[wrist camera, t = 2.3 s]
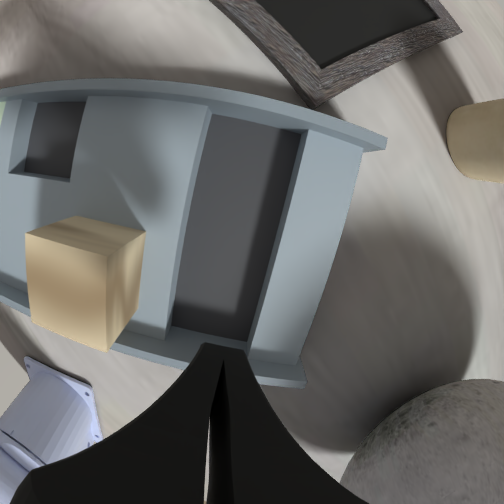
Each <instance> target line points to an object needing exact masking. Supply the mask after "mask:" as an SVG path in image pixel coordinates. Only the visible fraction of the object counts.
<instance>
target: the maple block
mask: <svg viewBox="0 0 504 504" xmlns="http://www.w3.org/2000/svg"><path fill="white" fill-rule="evenodd" d="M145 237H146V231H142V230H138V229H133V228H129V227H124V226H120V225H116V224H111V223H107V222H102V221H98V220H94V219H89V218H85V217H80V216H73V217H70V218H67V219H64V220H61V221H58V222H55V223H52V224H49V225H46V226H43V227H40V228H37V229H34V230H32V231H29V232H26V233H25V256H26V275H27V287H28V297H29V305H30V312H31V319H32V322H33V323H35V324H37V325H39V326H41V327H43V328H46V329H48V330H50V331H52V332H55V333H57V334H59V335H62V336H64V337H66V338H69V339H71V340H74V341H76V342H79V343H81V344H84V345H87V346H89V347H92V348H95V349H97V350H100V351H103V352H106V353H107V352H108V351H109V349H110V348H111V346H112V345H113V343H114V342H115V340H116V339H117V337H118V336H119V335H120V333H121V332H122V330H123V329H124V327H125V326H126V325H127V323H128V322H129V320H130V319H131V318H132V316H133V315H134V313H135V312H136V311H137V309H138V305H139V292H140V280H141V270H142V261H143V252H144V245H145Z"/></svg>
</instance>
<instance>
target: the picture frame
mask: <svg viewBox="0 0 504 504" xmlns="http://www.w3.org/2000/svg"><path fill="white" fill-rule="evenodd" d="M209 1H210V2H212V3H213V4H214V5H215V6H216V7H217V8H218V9H219V10H221V11H222V12H223V13H224V14H225V15H226V16H227V17H228V18H229V19H230V20H231V21H232V22H233V23H235V24H236V25H237V26H238V27H239V28H240V29H241V30H242V31H243V32H244V33H245V34H246V35H247V36H248V37H249V38H250V39H251V40H252V41H253V42H254V44H255V45H256V46H257V47H258V48H259V49H260V50H261V51H262V52H263V53H264V54H265V55H266V56H267V57H268V59H269V60H270V61H271V62H272V63H273V64H274V65H275V66H276V68H277V69H278V70H279V71H280V72H281V73H282V74H283V76H284V77H285V78H286V79H287V80H288V82H289V83H290V84H291V85H292V86H293V88H294V89H295V90H296V91H297V93H298V94H299V95H300V96H301V98H302V99H303V100H304V101H305V103H306V104H307V105H308V107H309V108H310V109H311V110H313V109H315V108H317V107H318V106H320V105H322V104H323V103H325V102H326V101H328V100H330V99H331V98H333V97H335V96H336V95H338V94H340V93H341V92H343V91H345V90H347V89H348V88H350V87H352V86H354V85H355V84H357V83H359V82H361V81H362V80H364V79H366V78H368V77H370V76H372V75H373V74H375V73H377V72H379V71H381V70H383V69H385V68H387V67H389V66H390V65H392V64H394V63H396V62H398V61H400V60H402V59H404V58H406V57H409V56H411V55H413V54H415V53H417V52H419V51H421V50H423V49H426V48H428V47H430V46H432V45H434V44H437V43H439V42H441V41H444V40H446V39H448V38H451V37H453V36H456V35H458V34H460V33H462V32H463V31H462V30H461V29H460V27H459V26H458V25H457V23H456V22H455V20H454V19H453V18H452V17H451V15H450V14H449V13H448V11H447V10H446V9H445V8H444V6H443V5H442V4H441V3H440V2H439V0H209Z"/></svg>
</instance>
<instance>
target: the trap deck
mask: <svg viewBox="0 0 504 504" xmlns="http://www.w3.org/2000/svg"><path fill="white" fill-rule="evenodd" d="M386 144H387V138H386V137H384V136H382V135H380V134H377V133H375V132H372V131H370V130H367V129H365V128H362V127H360V126H357V125H355V124H352V123H349V122H346V121H344V120H341V119H338V118H335V117H332V116H329V115H326V114H323V113H320V112H317V111H314V110H311V109H307V108H304V107H301V106H297V105H294V104H290V103H286V102H283V101H279V100H275V99H271V98H267V97H262V96H258V95H254V94H249V93H244V92H239V91H234V90H229V89H223V88H217V87H211V86H205V85H198V84H190V83H182V82H172V81H161V80H148V79H125V78H93V79H71V80H58V81H48V82H39V83H32V84H25V85H19V86H13V87H8V88H3V89H0V302H2V303H4V304H6V305H8V306H10V307H12V308H14V309H16V310H18V311H20V312H22V313H24V314H26V315H28V316H30V317H31V312H30V305H29V297H28V287H27V275H26V256H25V233H26V232H29V231H32V230H34V229H37V228H40V227H43V226H46V225H49V224H52V223H55V222H58V221H61V220H64V219H67V218H70V217H73V216H80V217H85V218H89V219H94V220H98V221H102V222H107V223H111V224H116V225H120V226H124V227H129V228H133V229H138V230H142V231H146V237H145V245H144V252H143V261H142V270H141V280H140V292H139V305H138V309H137V311H136V312H135V313H134V315H133V316H132V318H131V319H130V320H129V322H128V323H127V325H126V326H125V327H124V329H123V330H122V332H121V333H120V335H119V336H118V337H117V339H116V340H115V342H114V343H113V345H112V346H111V348H110V349H112V350H115V351H118V352H121V353H124V354H127V355H131V356H134V357H137V358H141V359H144V360H148V361H151V362H155V363H158V364H162V365H166V366H170V367H174V368H178V369H182V370H185V369H186V368H187V367H188V365H189V364H190V362H191V361H192V360H193V358H194V357H195V355H196V353H197V352H198V350H199V348H200V345H201V344H202V343H204V342H207V343H212V344H216V345H221V346H226V347H231V348H237V349H242V350H244V351H245V353H246V355H247V358H248V361H249V363H250V366H251V368H252V371H253V373H254V375H255V377H256V379H257V381H258V383H259V384H263V385H270V386H278V387H287V388H297V389H304V388H305V386H306V384H307V379H306V375H305V372H304V368H303V365H302V361H301V358H300V353H301V350H302V348H303V345H304V343H305V340H306V338H307V335H308V332H309V330H310V327H311V324H312V322H313V319H314V316H315V314H316V311H317V308H318V305H319V302H320V300H321V297H322V294H323V291H324V288H325V285H326V282H327V279H328V276H329V273H330V270H331V267H332V264H333V261H334V257H335V254H336V251H337V248H338V244H339V241H340V238H341V234H342V231H343V228H344V224H345V221H346V217H347V213H348V210H349V206H350V202H351V199H352V195H353V191H354V187H355V183H356V179H357V175H358V171H359V167H360V162H361V158H362V153H364V152H371V151H378V150H385V148H386Z"/></svg>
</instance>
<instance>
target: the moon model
mask: <svg viewBox="0 0 504 504" xmlns="http://www.w3.org/2000/svg"><path fill="white" fill-rule="evenodd" d="M340 484H341V485H342V486H344V487H345V488H346V489H348V490H349V491H350V492H352V493H353V494H355V495H356V496H358V497H359V498H361V499H362V500H364V501H366V502H368V503H369V504H504V382H502V381H497V380H490V379H469V380H463V381H457V382H452V383H449V384H446V385H443V386H439V387H437V388H434V389H432V390H429V391H427V392H425V393H423V394H421V395H419V396H417V397H416V398H414V399H412V400H410V401H409V402H407V403H405V404H404V405H402V406H401V407H400V408H398V409H397V410H395V411H394V412H393V413H392V414H390V415H389V416H388V417H387V418H386V419H384V420H383V421H382V422H381V423H380V424H379V425H378V426H377V427H376V428H375V429H374V430H373V431H372V432H371V433H370V434H369V435H368V437H367V438H366V439H365V440H364V441H363V443H362V444H361V445H360V446H359V448H358V449H357V451H356V452H355V454H354V455H353V457H352V459H351V460H350V462H349V463H348V465H347V467H346V470H345V472H344V474H343V476H342V478H341V481H340Z"/></svg>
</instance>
